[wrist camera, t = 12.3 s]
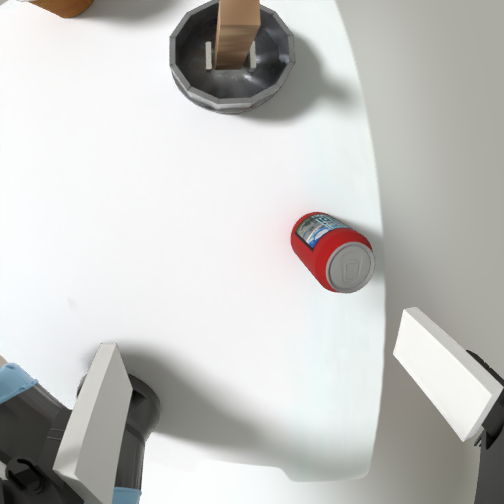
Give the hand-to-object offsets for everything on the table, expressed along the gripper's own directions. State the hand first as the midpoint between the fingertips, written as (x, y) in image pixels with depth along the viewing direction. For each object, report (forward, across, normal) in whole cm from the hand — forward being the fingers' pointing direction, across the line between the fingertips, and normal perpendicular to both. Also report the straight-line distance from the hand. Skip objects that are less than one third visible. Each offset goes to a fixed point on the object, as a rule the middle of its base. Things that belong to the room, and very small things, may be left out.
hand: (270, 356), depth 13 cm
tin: (+27, +1, +20) cm, 33 cm away
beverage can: (+27, +11, -3) cm, 29 cm away
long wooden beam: (+26, +1, +20) cm, 33 cm away
